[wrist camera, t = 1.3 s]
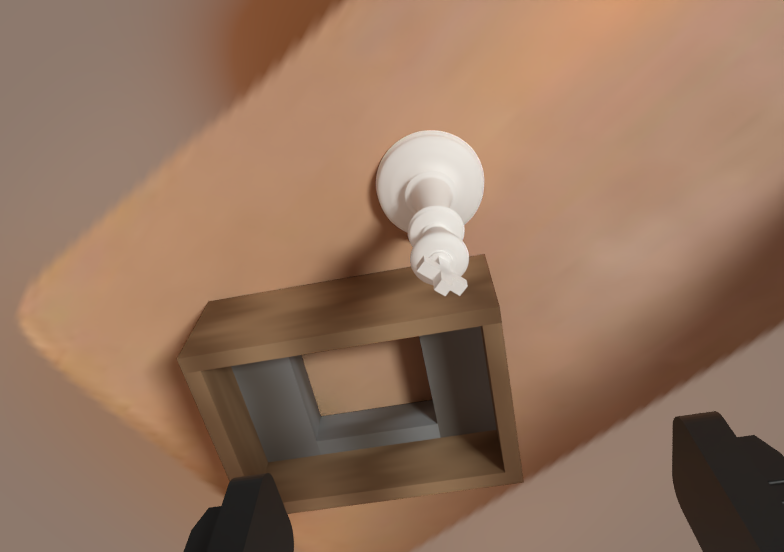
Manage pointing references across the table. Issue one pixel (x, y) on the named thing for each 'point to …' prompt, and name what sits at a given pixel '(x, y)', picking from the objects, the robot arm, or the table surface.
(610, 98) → the table surface
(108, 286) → the table surface
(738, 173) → the table surface
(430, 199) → the chess piece
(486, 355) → the walnut box
